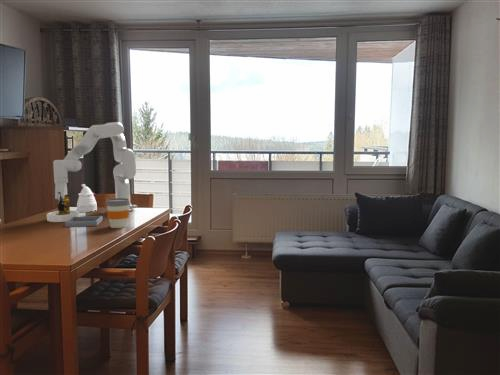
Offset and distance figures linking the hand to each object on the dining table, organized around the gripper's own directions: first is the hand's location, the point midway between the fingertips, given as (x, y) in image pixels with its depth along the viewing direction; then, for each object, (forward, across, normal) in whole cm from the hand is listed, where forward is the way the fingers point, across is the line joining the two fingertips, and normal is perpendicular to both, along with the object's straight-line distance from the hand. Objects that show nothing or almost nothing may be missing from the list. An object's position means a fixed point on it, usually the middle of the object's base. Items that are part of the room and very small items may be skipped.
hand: (62, 209), depth 253 cm
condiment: (+3, 0, 0) cm, 3 cm away
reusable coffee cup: (+6, +29, +37) cm, 47 cm away
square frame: (+6, +16, +16) cm, 23 cm away
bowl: (+6, 0, 0) cm, 6 cm away
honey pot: (+6, -32, +7) cm, 33 cm away
